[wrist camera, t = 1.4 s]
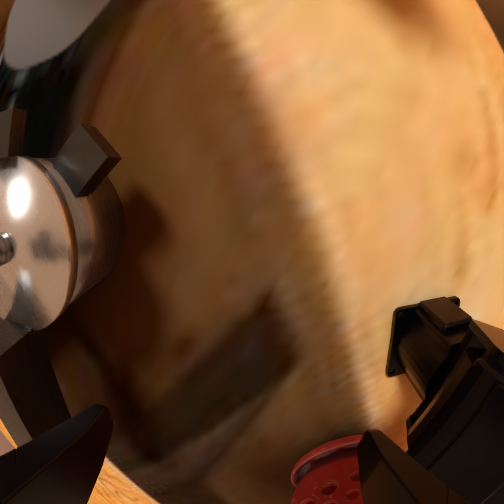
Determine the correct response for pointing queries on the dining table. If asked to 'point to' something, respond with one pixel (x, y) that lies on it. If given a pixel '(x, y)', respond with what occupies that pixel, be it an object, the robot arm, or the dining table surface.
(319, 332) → the dining table surface
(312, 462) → the plant pot
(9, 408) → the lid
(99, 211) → the pot
